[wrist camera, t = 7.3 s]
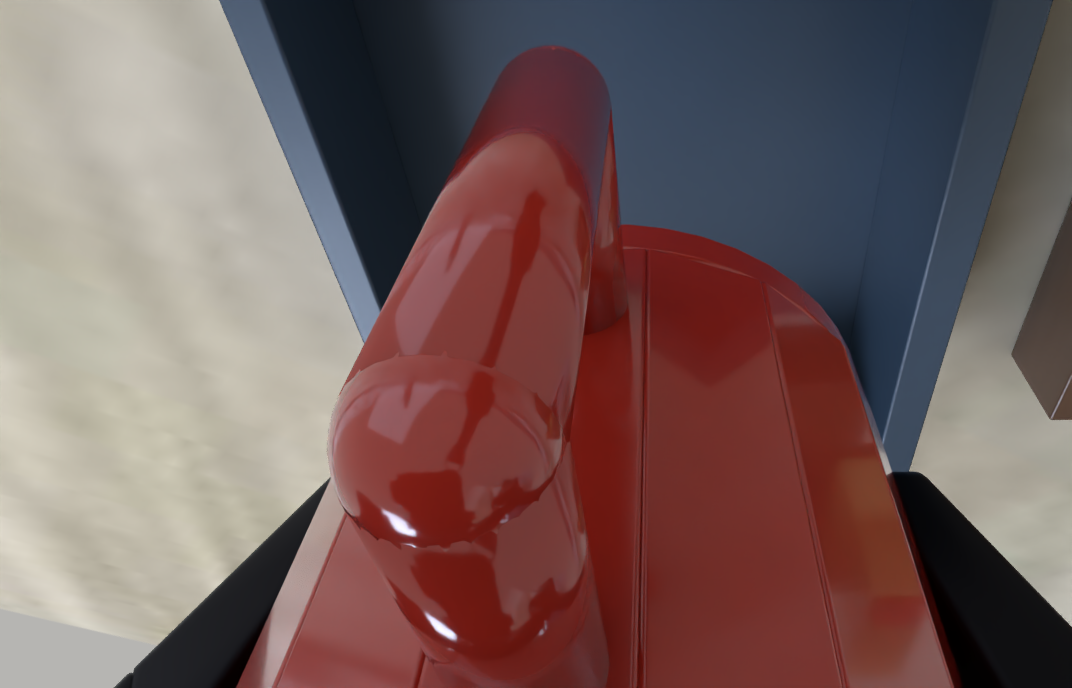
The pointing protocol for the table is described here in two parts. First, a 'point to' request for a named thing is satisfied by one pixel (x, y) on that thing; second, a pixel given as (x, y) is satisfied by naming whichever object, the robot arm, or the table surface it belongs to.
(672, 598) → the mug
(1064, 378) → the panel
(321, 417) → the table surface
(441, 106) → the dark blue tray
